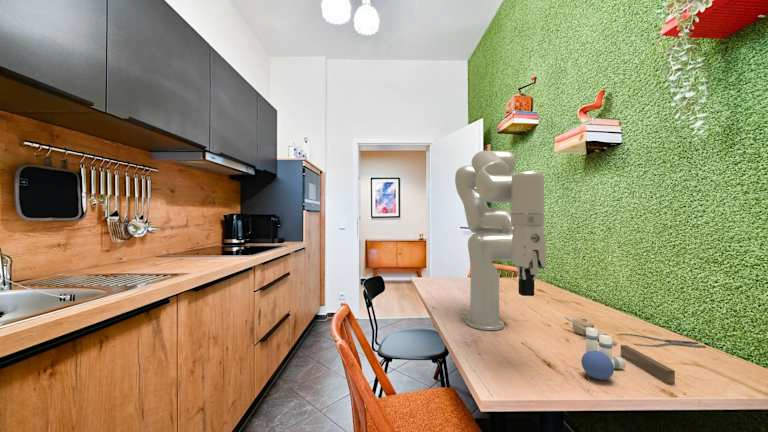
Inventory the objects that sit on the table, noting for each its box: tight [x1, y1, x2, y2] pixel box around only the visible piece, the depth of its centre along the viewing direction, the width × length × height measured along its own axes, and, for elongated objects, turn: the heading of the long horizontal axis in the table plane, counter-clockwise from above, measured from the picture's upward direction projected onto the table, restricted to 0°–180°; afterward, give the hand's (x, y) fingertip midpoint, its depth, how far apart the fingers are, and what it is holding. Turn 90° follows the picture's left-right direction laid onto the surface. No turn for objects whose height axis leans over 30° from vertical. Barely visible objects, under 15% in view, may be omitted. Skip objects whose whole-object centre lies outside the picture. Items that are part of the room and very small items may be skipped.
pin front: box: [612, 356, 626, 370], centre depth 73 cm, size 2×2×8 cm
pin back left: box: [585, 327, 599, 353], centre depth 76 cm, size 2×2×8 cm
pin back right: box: [598, 334, 613, 361], centre depth 71 cm, size 2×2×8 cm
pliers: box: [618, 333, 707, 349], centre depth 91 cm, size 10×1×20 cm
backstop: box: [620, 344, 676, 385], centre depth 73 cm, size 2×14×3 cm, turn 177°
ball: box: [581, 350, 615, 381], centre depth 68 cm, size 6×6×6 cm
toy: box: [564, 316, 618, 346], centre depth 94 cm, size 10×5×15 cm
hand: (526, 294), depth 75 cm, fingers closed
